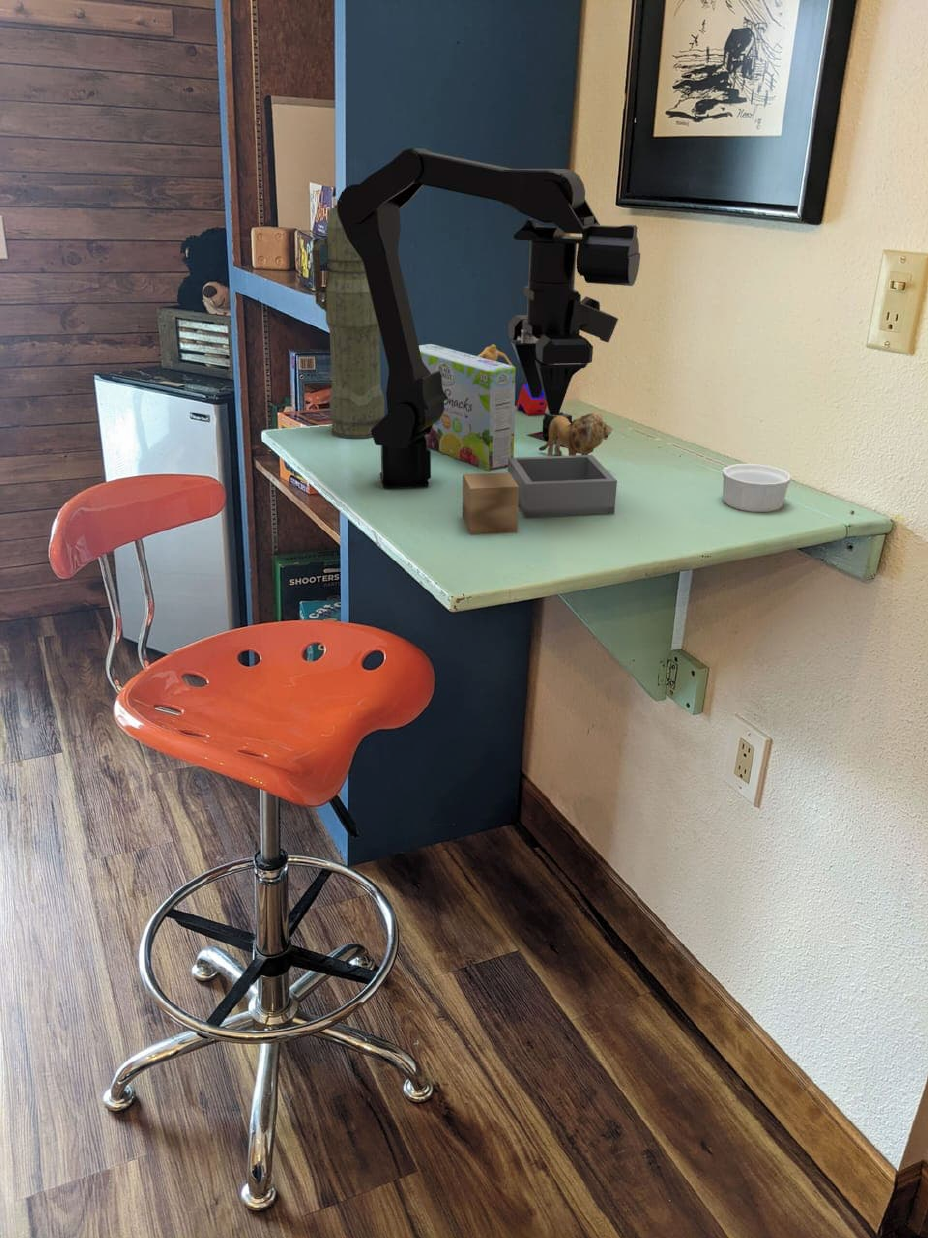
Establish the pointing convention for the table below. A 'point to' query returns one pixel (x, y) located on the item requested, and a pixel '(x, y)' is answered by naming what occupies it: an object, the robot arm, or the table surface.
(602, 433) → the lion figurine
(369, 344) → the thermos
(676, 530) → the table surface
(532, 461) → the grey square tray
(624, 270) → the robot arm
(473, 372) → the snack box
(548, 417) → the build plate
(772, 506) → the ramekin
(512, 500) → the walnut cube
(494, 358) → the figurine
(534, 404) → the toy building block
